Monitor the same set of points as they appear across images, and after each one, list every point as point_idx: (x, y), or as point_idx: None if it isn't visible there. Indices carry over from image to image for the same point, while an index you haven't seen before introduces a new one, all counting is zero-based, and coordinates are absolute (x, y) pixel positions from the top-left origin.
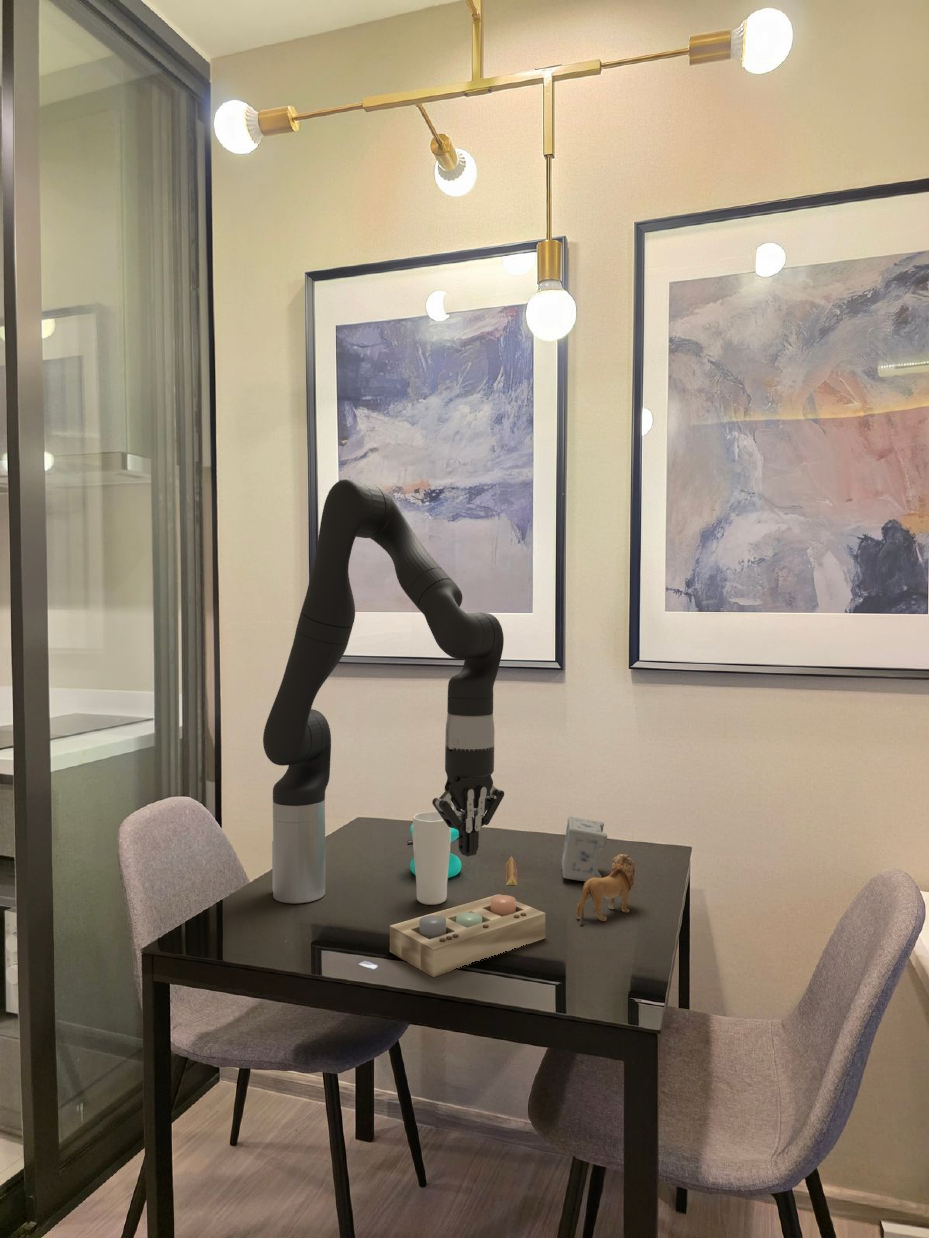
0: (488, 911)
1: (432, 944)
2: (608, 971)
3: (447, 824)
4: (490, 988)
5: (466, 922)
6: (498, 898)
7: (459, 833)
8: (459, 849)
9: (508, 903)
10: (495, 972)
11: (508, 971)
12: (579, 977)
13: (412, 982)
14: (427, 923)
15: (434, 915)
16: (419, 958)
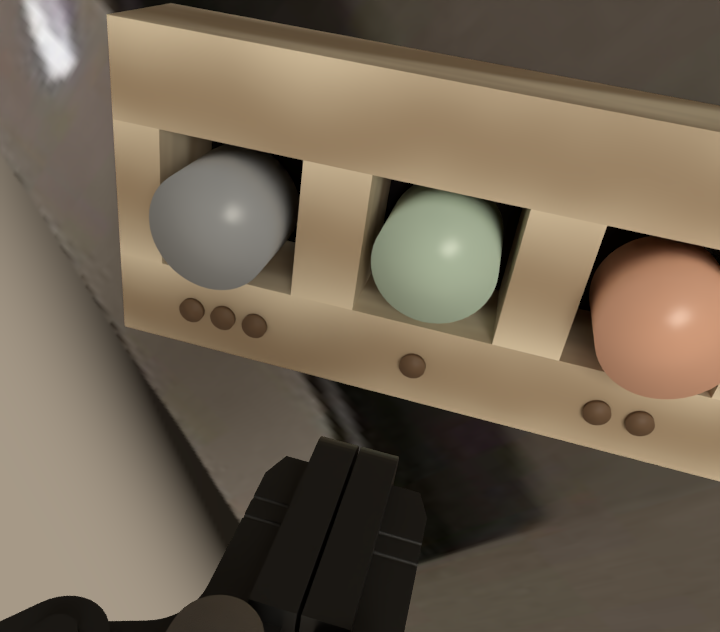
0: (582, 278)
1: (145, 299)
2: (560, 622)
3: (6, 628)
4: (254, 436)
5: (380, 289)
6: (671, 313)
7: (209, 590)
8: (271, 472)
9: (627, 388)
10: (337, 403)
11: (370, 428)
12: (474, 579)
13: (106, 251)
14: (169, 236)
15: (250, 200)
16: None
